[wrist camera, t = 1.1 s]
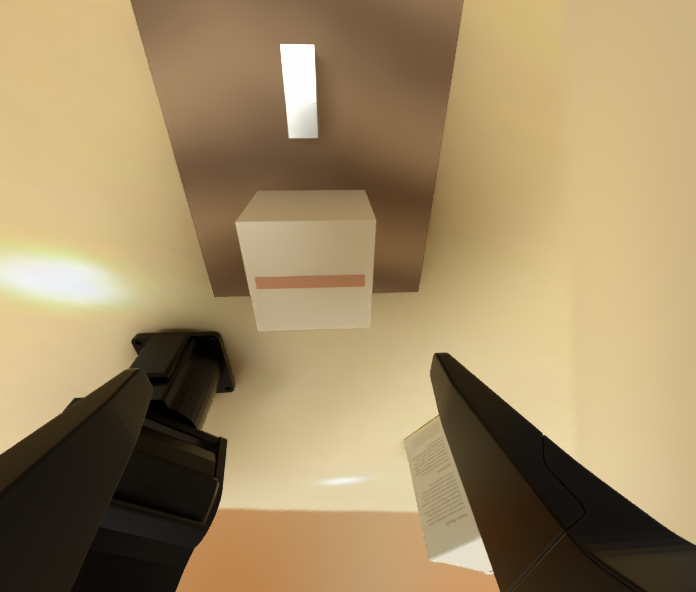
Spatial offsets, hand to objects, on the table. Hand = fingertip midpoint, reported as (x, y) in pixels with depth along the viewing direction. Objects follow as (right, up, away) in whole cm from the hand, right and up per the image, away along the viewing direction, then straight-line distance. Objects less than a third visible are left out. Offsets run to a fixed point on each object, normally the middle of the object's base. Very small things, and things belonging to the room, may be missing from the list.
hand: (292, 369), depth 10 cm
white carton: (0, +6, +9) cm, 11 cm away
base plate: (0, +9, +8) cm, 12 cm away
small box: (+13, -13, +24) cm, 30 cm away
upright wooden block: (0, +12, +5) cm, 13 cm away
